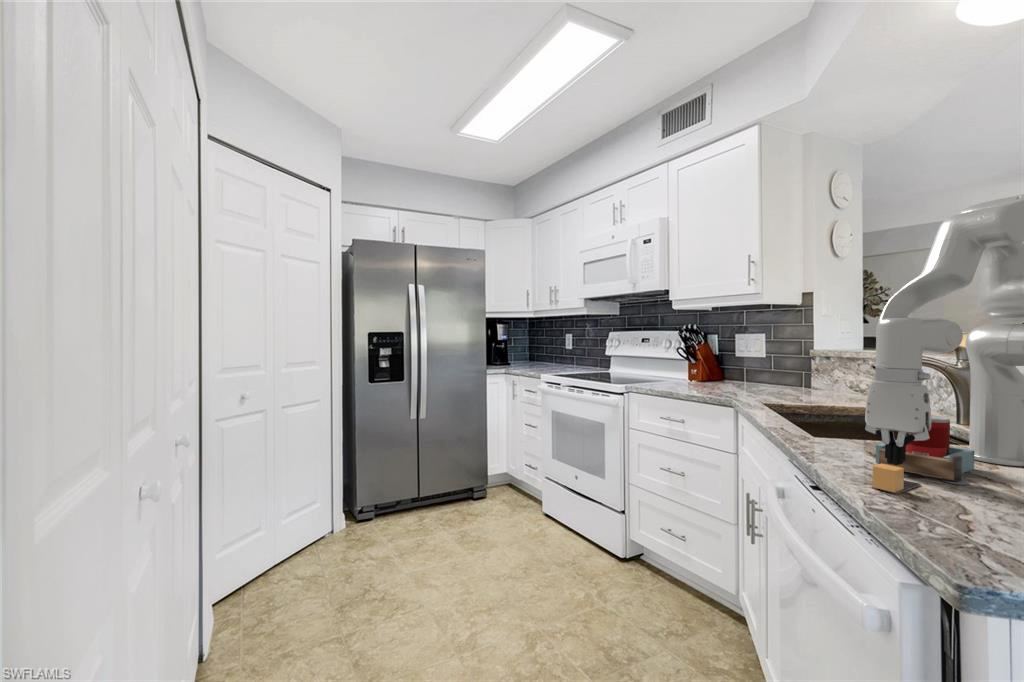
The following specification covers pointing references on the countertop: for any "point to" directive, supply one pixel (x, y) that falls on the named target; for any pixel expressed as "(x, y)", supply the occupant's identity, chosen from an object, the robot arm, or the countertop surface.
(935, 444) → the canned food
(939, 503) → the countertop surface
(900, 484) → the orange cube
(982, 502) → the countertop surface
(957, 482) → the hinge base
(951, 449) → the keeper bay
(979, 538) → the countertop surface
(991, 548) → the countertop surface
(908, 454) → the bar
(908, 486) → the grey flat plate
